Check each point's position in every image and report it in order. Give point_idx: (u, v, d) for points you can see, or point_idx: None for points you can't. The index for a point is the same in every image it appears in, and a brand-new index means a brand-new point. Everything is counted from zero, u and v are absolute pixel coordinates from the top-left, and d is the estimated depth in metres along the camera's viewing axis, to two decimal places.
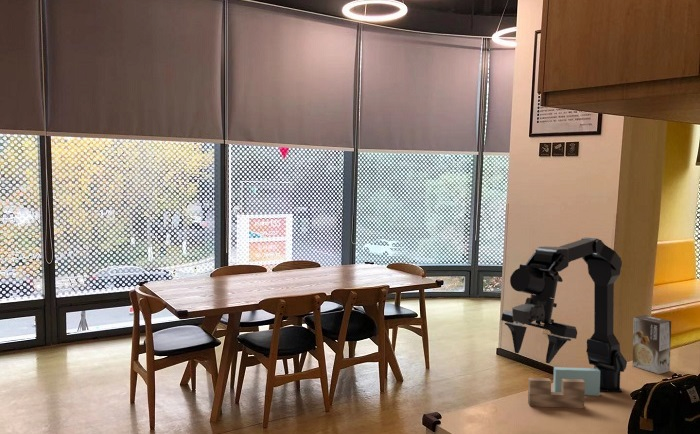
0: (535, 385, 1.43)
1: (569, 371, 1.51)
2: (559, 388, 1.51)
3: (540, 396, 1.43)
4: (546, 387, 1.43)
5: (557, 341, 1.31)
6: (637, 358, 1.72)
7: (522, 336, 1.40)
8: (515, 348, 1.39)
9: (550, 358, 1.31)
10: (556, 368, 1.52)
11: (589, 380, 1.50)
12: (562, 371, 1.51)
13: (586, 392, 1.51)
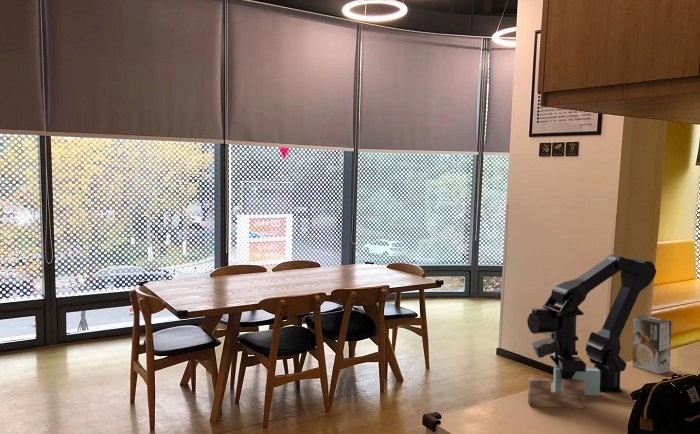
0: (535, 385, 1.43)
1: None
2: (559, 388, 1.51)
3: (540, 396, 1.43)
4: (546, 387, 1.43)
5: None
6: (637, 358, 1.72)
7: None
8: None
9: None
10: (556, 368, 1.52)
11: (589, 380, 1.50)
12: None
13: (586, 392, 1.51)
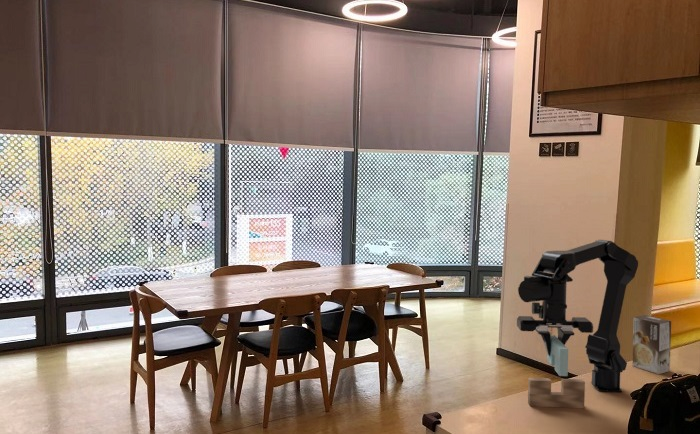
0: (535, 385, 1.43)
1: (551, 340, 1.45)
2: (548, 355, 1.48)
3: (540, 396, 1.43)
4: (546, 387, 1.43)
5: None
6: (637, 358, 1.72)
7: None
8: None
9: (546, 350, 1.46)
10: (551, 335, 1.48)
11: (556, 356, 1.40)
12: None
13: (555, 368, 1.41)
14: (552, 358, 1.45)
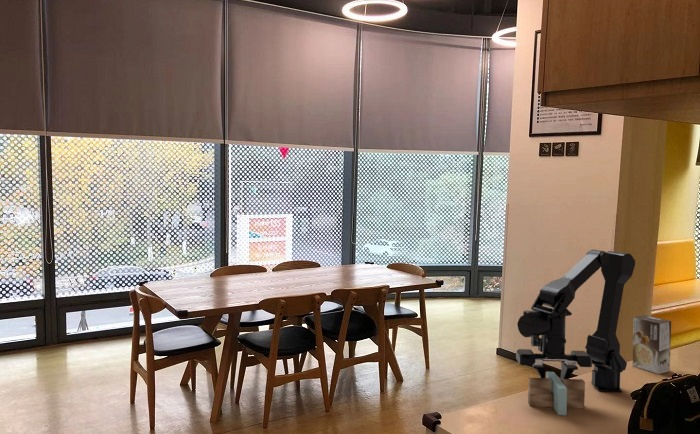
0: (535, 385, 1.43)
1: (550, 378, 1.46)
2: None
3: (540, 396, 1.43)
4: (546, 387, 1.43)
5: None
6: (637, 358, 1.72)
7: (564, 375, 1.45)
8: None
9: None
10: (550, 372, 1.49)
11: (555, 394, 1.40)
12: (548, 375, 1.48)
13: (554, 406, 1.41)
14: None
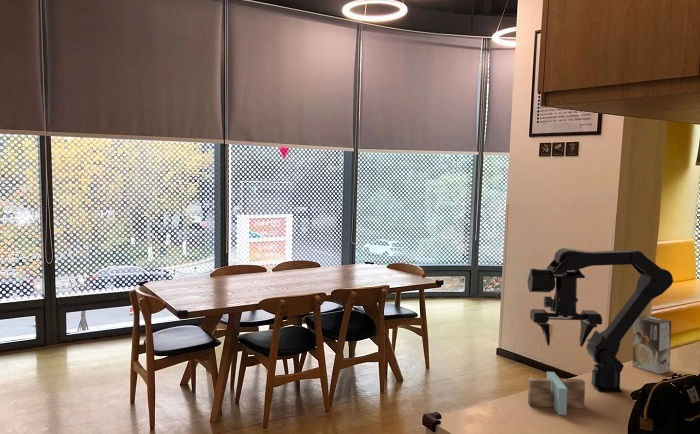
0: (535, 385, 1.43)
1: (550, 378, 1.46)
2: None
3: (540, 396, 1.43)
4: (546, 387, 1.43)
5: None
6: (637, 358, 1.72)
7: (583, 332, 1.54)
8: None
9: (546, 341, 1.57)
10: (550, 372, 1.49)
11: (555, 394, 1.40)
12: (548, 375, 1.48)
13: (554, 406, 1.41)
14: None
